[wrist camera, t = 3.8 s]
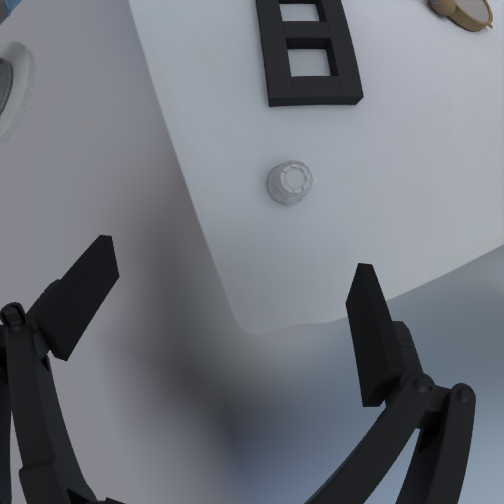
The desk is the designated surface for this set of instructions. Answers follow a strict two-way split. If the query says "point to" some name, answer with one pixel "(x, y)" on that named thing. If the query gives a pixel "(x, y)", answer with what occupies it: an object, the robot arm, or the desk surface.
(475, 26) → the alarm clock
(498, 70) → the desk surface
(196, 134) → the desk surface
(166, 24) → the desk surface
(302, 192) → the rook chess piece
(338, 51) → the socket pad
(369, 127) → the desk surface
